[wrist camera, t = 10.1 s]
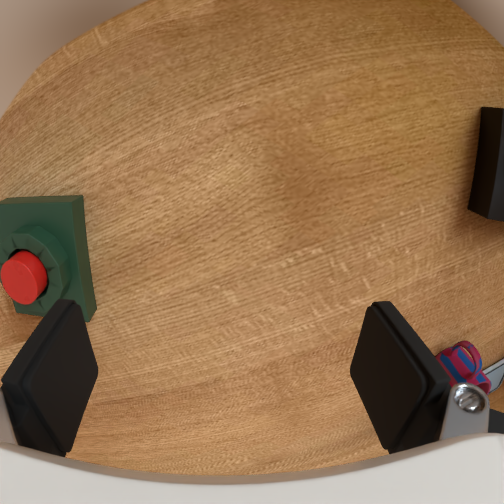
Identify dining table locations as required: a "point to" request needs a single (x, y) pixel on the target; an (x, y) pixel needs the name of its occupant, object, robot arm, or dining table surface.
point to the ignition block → (50, 248)
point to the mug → (464, 365)
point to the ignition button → (24, 277)
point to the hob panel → (489, 167)
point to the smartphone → (495, 374)
